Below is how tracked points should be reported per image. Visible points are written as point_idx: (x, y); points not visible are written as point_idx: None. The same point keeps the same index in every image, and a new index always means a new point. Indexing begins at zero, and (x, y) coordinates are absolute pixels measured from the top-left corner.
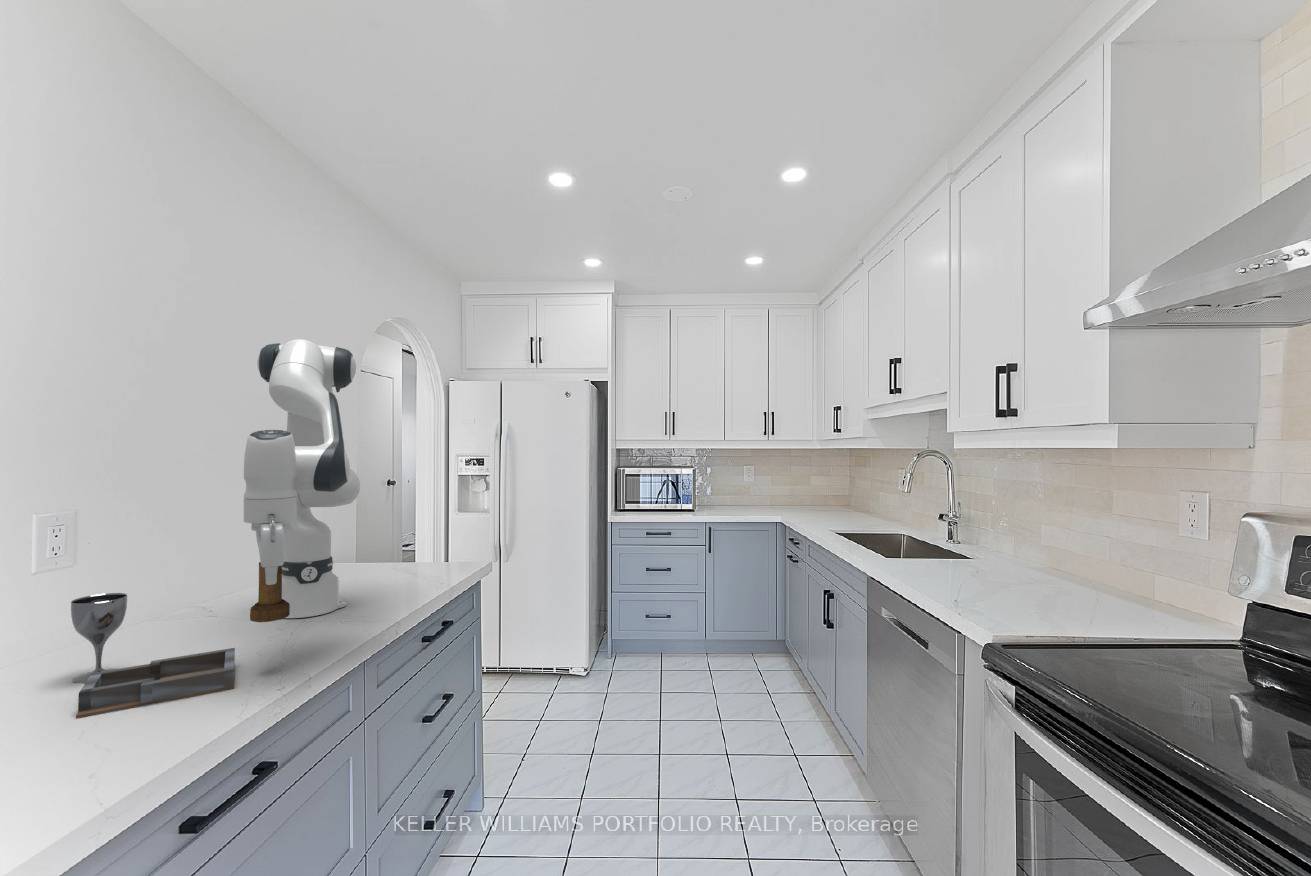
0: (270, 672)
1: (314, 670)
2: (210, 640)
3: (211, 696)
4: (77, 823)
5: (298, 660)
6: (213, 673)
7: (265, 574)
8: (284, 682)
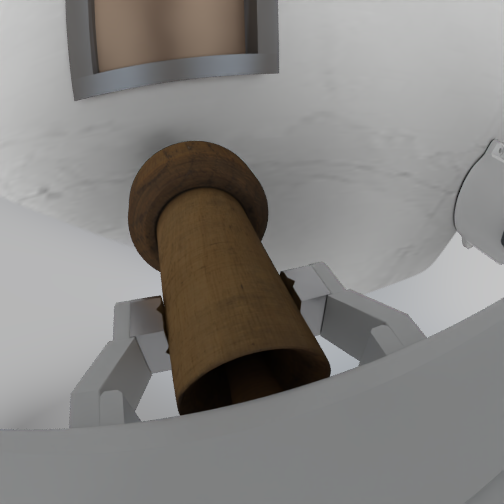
0: None
1: None
2: (444, 48)
3: (57, 62)
4: None
5: None
6: (69, 58)
7: (104, 351)
8: (80, 191)
